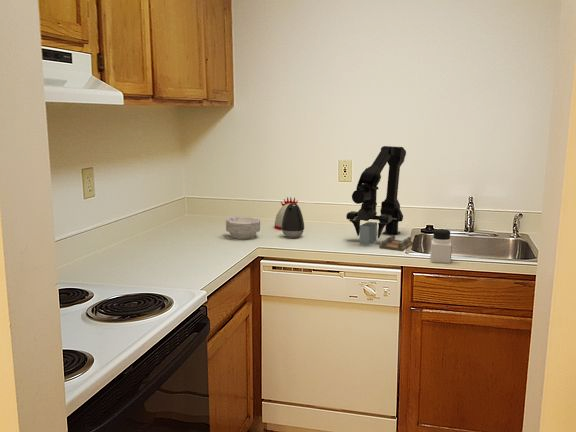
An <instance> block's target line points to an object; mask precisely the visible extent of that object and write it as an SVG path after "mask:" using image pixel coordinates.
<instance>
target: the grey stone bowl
mask: <svg viewBox="0 0 576 432" xmlns="http://www.w3.org/2000/svg"><path fill="white" fill-rule="evenodd" d="M225 231H226V232H228V233H230V236H231V237H232V238H234V239H239V240H248V239H252V238H254V237H255V236H256V235H257V233H259V232H261V219H259V218H258V217H252V216H251V217H250V216H232V217H229V218H227V219H226V220H225Z"/></svg>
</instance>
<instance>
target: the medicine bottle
mask: <svg viewBox="0 0 576 432" xmlns="http://www.w3.org/2000/svg"><path fill="white" fill-rule="evenodd" d="M432 237H433V239H431V241H430V261H431V263H437V264H438V263H439V264H451V263H452V249H453V248H452V246H453V245H452V242H451V231H450V229H447V228H435V229H434V230H433V236H432Z"/></svg>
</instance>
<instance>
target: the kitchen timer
mask: <svg viewBox="0 0 576 432" xmlns="http://www.w3.org/2000/svg"><path fill="white" fill-rule="evenodd" d="M298 202H299V200H298V199H297V200H296V197H294V198H293V199H292V197H290V198H289V197H288V196H287V197H286V199H283V202H282V201H280V203H281V207H280V208H279V210H278V212H277V214H276V217H275V220H274V229H275V230H277V229H278V231H282V229H281V226H282V219H283V216H284V212H285V210H286V208H287V206H288V205H289V204H291V203H295V204H297V205H298Z"/></svg>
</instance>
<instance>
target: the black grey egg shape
mask: <svg viewBox="0 0 576 432" xmlns="http://www.w3.org/2000/svg"><path fill="white" fill-rule="evenodd" d="M304 220H305V219H304V218H303V214H302V210H301V207H300V206H299V205H298V203H297V204H295V203H291V204H289V205H288V206H287V208H286V210H285V212H284V216H283V219H282V226H281V229H282V230H281V231H282V233H283V235H284V236H285V237H286V238H288V237H289V238H290V239H296V238H297V239H298V238H299V237H301V236H302V235H303V233H304V231H305V221H304ZM289 238H288V239H289Z"/></svg>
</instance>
